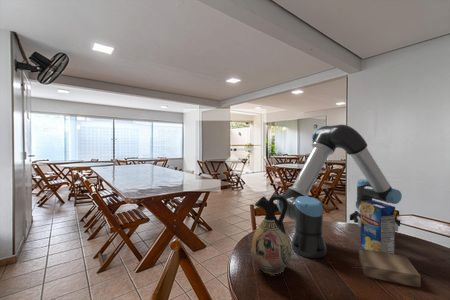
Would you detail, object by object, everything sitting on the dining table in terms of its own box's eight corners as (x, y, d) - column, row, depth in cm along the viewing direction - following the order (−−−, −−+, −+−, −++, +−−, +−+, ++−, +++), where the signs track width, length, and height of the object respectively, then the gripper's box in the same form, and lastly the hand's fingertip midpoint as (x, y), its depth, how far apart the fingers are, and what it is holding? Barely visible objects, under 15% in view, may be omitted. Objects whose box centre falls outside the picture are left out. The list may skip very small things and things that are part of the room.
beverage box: (380, 259, 90) (381, 207, 90) (360, 247, 101) (360, 200, 101) (394, 258, 91) (395, 206, 91) (373, 245, 102) (373, 200, 102)
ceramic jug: (247, 277, 79) (246, 196, 78) (254, 256, 94) (254, 188, 93) (295, 286, 74) (296, 200, 73) (295, 262, 89) (296, 190, 88)
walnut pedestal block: (364, 276, 79) (365, 265, 79) (358, 257, 92) (358, 248, 92) (420, 287, 73) (420, 276, 73) (405, 265, 86) (405, 255, 86)
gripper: (396, 222, 111) (413, 239, 91) (341, 215, 121) (346, 230, 101) (396, 207, 110) (413, 221, 91) (341, 202, 120) (346, 214, 101)
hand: (378, 226), depth 96 cm, fingers open, 13 cm apart
